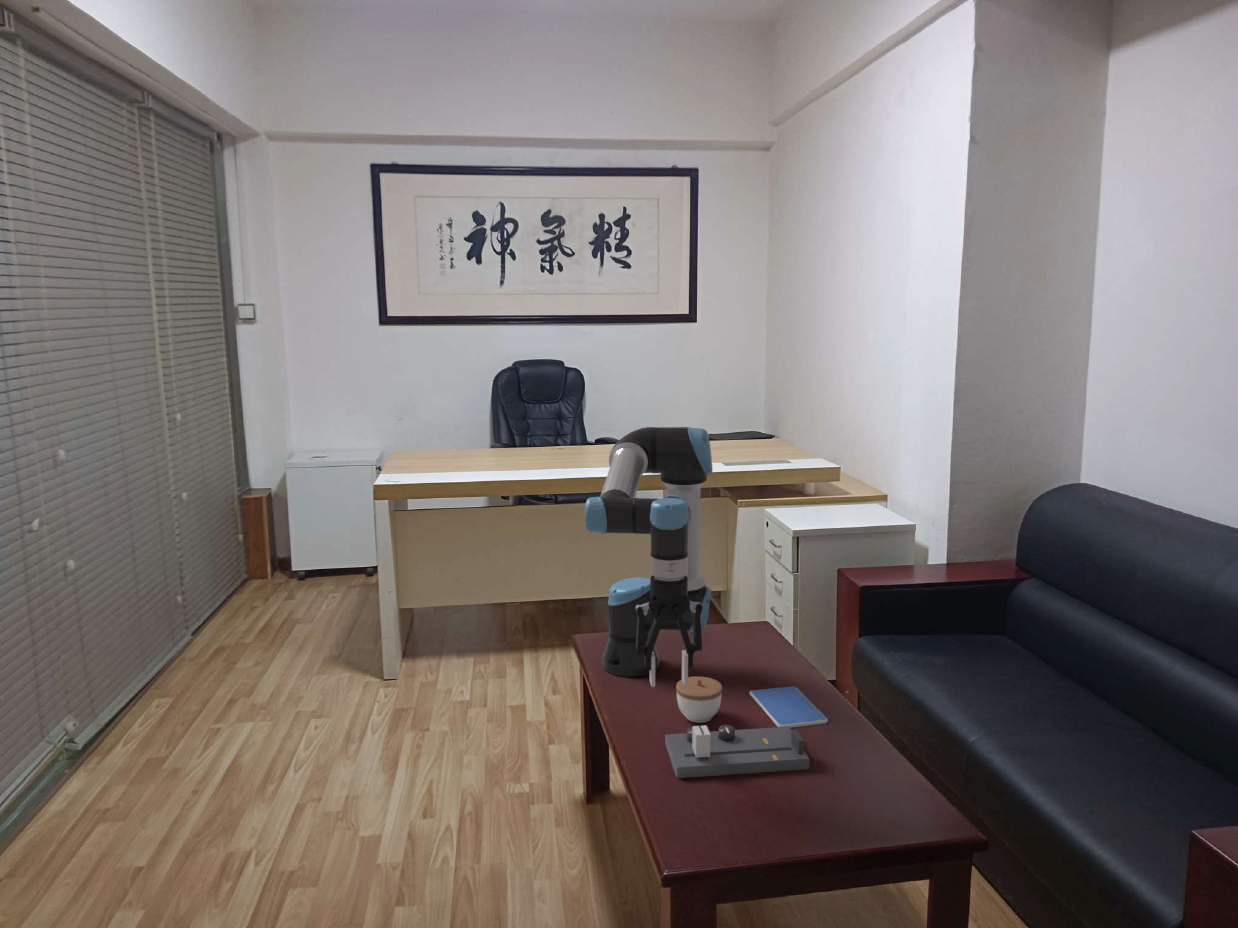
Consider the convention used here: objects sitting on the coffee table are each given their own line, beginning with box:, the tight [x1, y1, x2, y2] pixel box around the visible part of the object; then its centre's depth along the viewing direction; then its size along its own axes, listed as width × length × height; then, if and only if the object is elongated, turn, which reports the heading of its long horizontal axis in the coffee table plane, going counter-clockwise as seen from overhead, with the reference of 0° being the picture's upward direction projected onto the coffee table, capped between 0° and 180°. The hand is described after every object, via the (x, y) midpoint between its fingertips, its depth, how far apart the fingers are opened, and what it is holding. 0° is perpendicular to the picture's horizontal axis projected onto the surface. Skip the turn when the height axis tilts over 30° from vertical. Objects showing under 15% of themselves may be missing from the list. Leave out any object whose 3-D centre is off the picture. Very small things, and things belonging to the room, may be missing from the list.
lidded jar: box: [675, 676, 723, 724], centre depth 209 cm, size 11×11×9 cm
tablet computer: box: [749, 686, 829, 729], centre depth 214 cm, size 19×13×1 cm, turn 13°
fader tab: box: [691, 725, 711, 758], centre depth 187 cm, size 4×3×5 cm
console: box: [664, 724, 810, 779], centre depth 191 cm, size 14×28×5 cm, turn 97°
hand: (668, 682), depth 184 cm, fingers open, 6 cm apart
